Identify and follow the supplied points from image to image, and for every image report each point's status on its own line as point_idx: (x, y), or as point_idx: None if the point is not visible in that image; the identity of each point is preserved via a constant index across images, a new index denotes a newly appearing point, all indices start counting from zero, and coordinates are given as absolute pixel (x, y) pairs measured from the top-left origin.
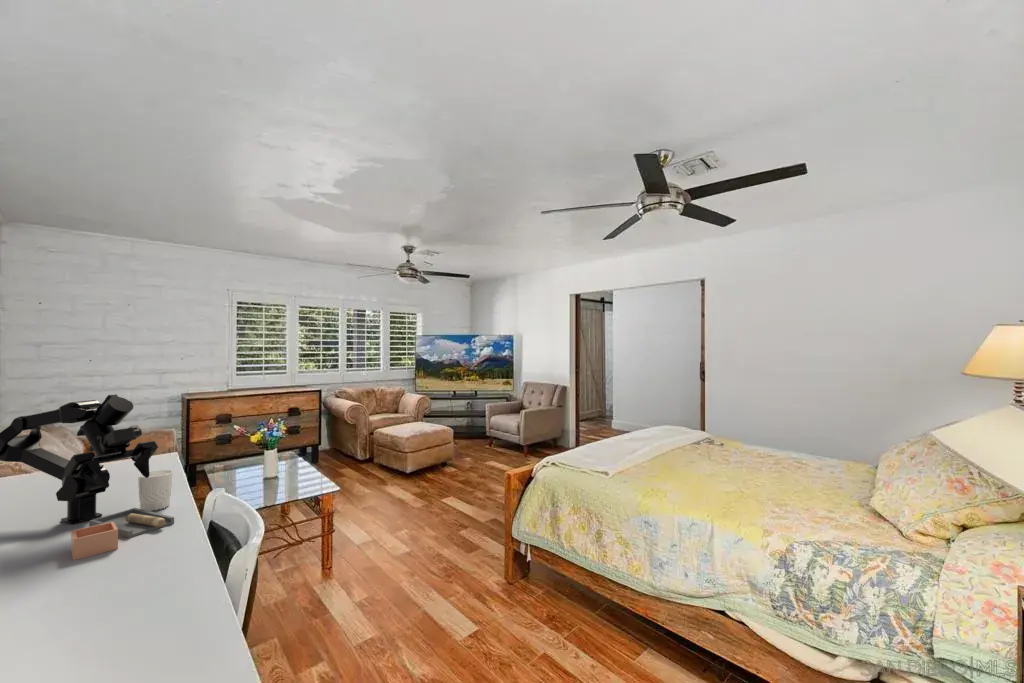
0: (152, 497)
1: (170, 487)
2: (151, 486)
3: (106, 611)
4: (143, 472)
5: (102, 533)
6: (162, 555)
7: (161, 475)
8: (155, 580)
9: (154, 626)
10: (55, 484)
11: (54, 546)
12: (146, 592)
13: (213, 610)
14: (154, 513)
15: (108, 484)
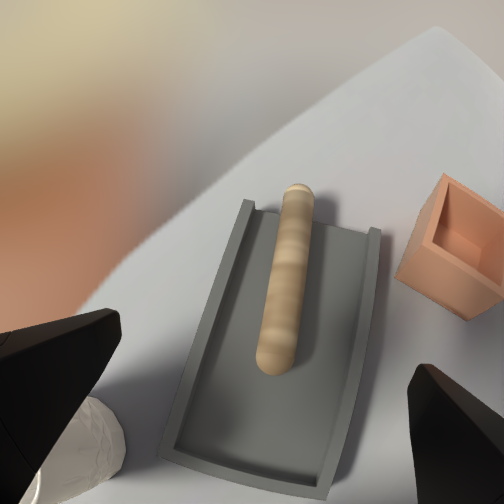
0: (91, 418)
1: None
2: None
3: (480, 98)
4: (88, 366)
5: (471, 190)
6: (389, 120)
7: None
8: (432, 89)
9: (458, 61)
10: None
11: None
12: (447, 85)
13: (422, 41)
14: (214, 303)
15: (426, 366)
